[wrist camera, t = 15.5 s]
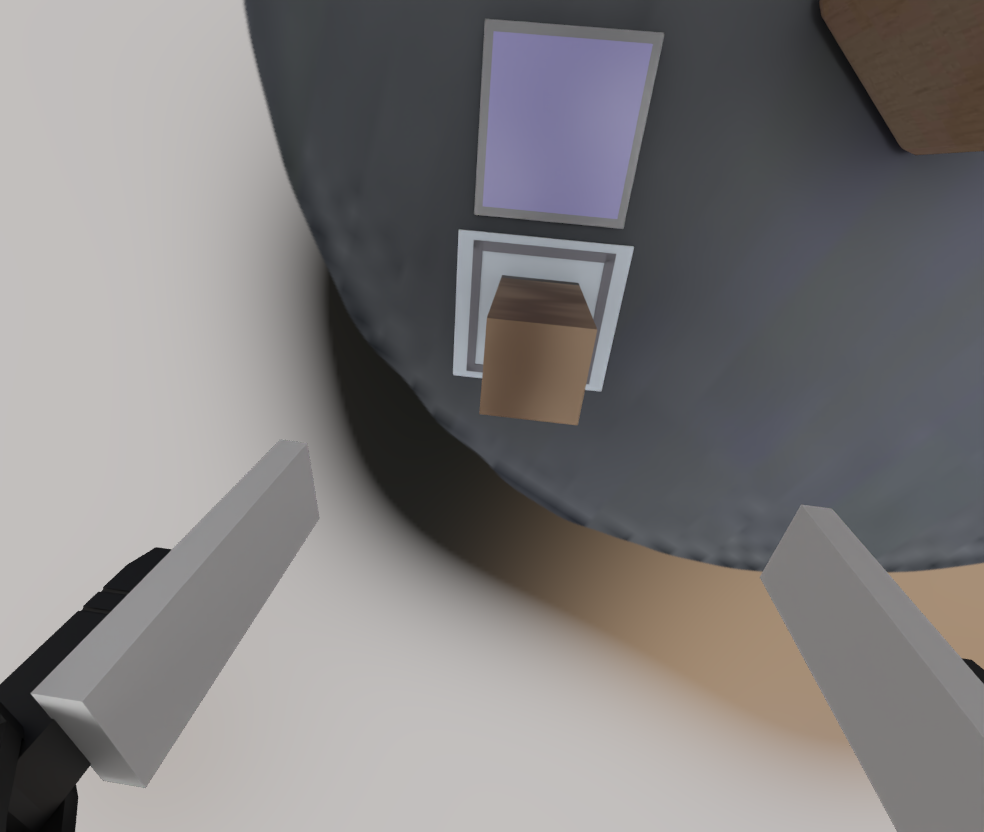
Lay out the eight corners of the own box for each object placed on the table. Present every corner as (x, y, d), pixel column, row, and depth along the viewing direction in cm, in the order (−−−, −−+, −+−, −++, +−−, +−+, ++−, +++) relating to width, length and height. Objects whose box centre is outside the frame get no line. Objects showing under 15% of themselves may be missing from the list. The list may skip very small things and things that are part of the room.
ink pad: (659, 38, 22) (665, 31, 21) (620, 227, 27) (623, 229, 26) (486, 24, 23) (484, 17, 22) (476, 213, 27) (473, 214, 26)
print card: (632, 245, 27) (634, 247, 27) (600, 389, 32) (601, 392, 32) (459, 229, 28) (458, 229, 27) (453, 372, 32) (452, 375, 32)
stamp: (578, 282, 28) (597, 329, 19) (565, 354, 30) (577, 425, 22) (502, 274, 28) (486, 318, 20) (495, 347, 31) (479, 414, 22)
